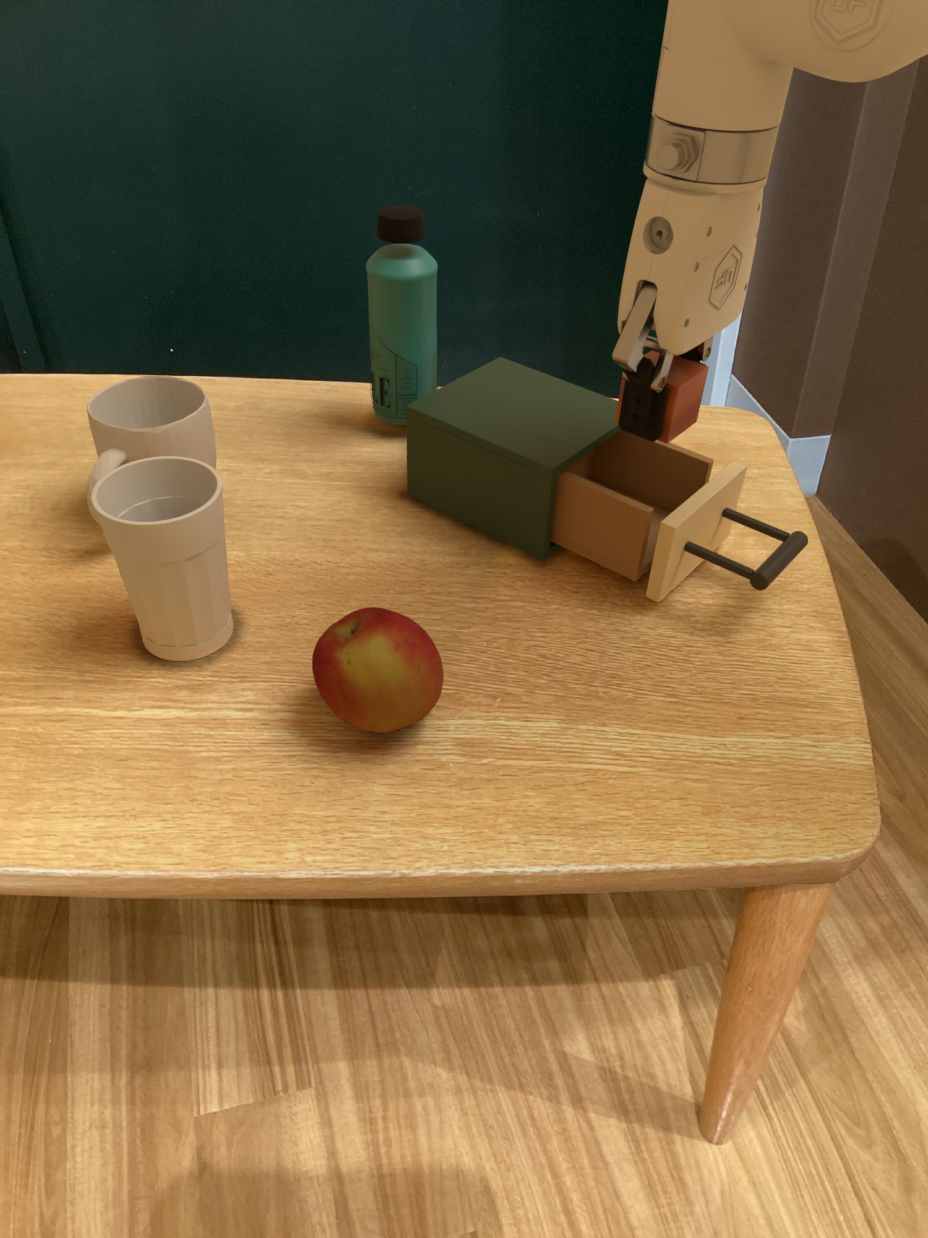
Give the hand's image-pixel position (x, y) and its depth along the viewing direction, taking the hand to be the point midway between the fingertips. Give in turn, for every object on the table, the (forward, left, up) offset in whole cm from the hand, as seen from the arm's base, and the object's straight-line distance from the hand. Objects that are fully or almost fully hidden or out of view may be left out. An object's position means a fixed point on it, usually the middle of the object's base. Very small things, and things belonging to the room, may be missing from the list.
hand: (657, 418), depth 68 cm
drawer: (-2, 0, -11) cm, 11 cm away
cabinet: (+12, 0, -12) cm, 17 cm away
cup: (+19, +30, -12) cm, 37 cm away
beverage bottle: (+28, -3, -12) cm, 31 cm away
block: (0, 0, 0) cm, 0 cm away
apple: (+3, +27, -12) cm, 30 cm away
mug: (+32, +23, -12) cm, 41 cm away
